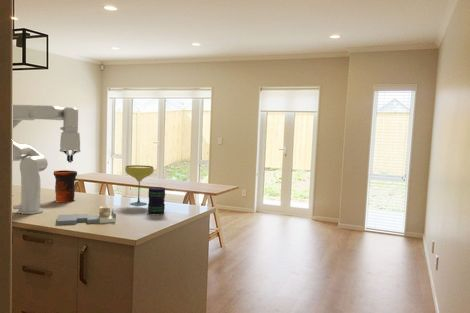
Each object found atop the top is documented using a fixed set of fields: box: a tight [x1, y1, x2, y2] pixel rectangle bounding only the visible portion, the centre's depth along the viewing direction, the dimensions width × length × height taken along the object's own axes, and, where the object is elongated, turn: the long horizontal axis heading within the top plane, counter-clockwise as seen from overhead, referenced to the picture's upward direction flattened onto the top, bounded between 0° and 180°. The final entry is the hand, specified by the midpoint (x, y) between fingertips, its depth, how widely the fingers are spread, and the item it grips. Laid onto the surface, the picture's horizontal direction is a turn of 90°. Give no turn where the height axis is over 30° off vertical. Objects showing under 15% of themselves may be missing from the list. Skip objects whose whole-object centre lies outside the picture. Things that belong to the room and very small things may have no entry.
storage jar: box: [147, 186, 166, 215], centre depth 226 cm, size 10×10×15 cm
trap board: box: [56, 208, 117, 226], centre depth 200 cm, size 28×14×4 cm, turn 113°
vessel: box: [53, 169, 78, 203], centre depth 250 cm, size 14×14×20 cm
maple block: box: [98, 205, 111, 217], centre depth 202 cm, size 5×5×5 cm
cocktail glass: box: [125, 164, 154, 207], centre depth 250 cm, size 18×18×25 cm
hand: (69, 162), depth 212 cm, fingers closed
